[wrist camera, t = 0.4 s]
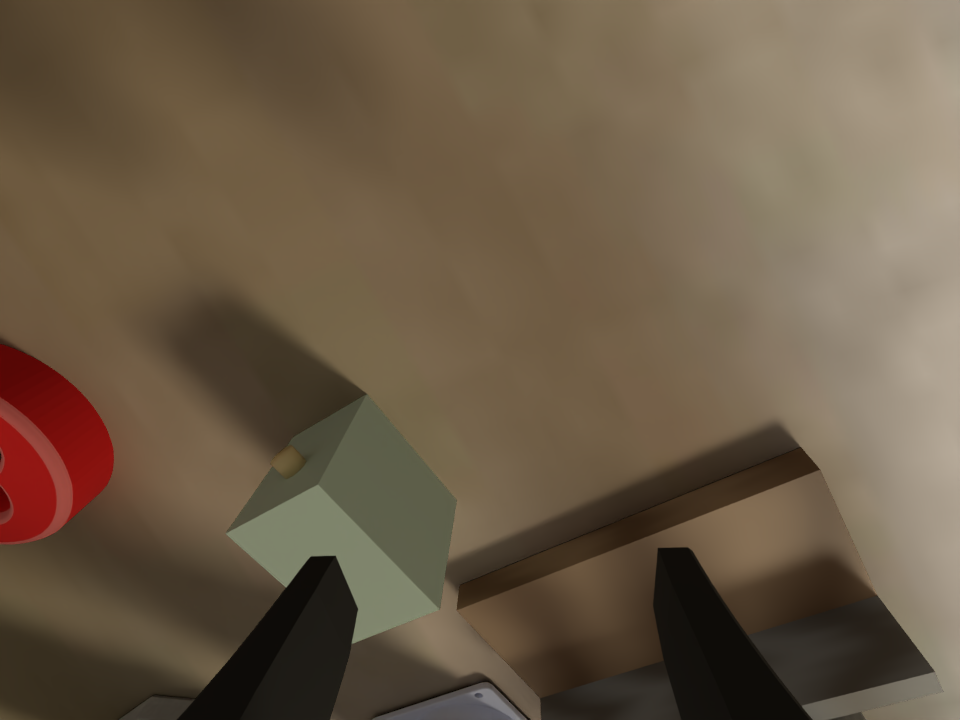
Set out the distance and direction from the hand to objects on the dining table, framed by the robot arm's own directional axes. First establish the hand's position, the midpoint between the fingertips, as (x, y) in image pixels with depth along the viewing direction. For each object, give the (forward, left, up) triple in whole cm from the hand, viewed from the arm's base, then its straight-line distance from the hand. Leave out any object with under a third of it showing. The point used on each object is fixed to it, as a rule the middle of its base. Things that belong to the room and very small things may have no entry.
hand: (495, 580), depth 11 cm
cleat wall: (0, -15, -10) cm, 19 cm away
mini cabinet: (-8, -1, -11) cm, 13 cm away
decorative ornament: (-22, +10, -11) cm, 26 cm away
